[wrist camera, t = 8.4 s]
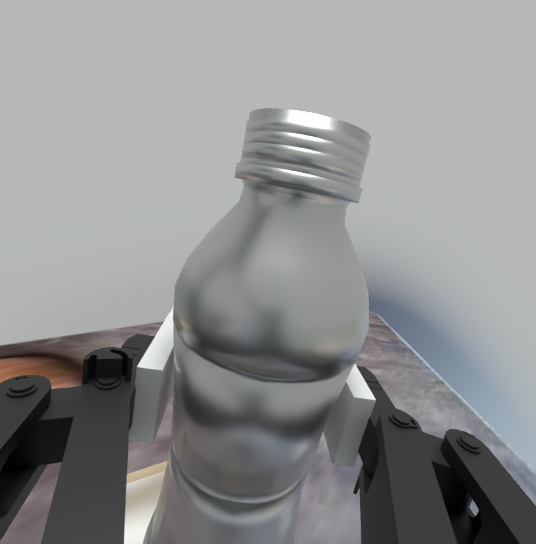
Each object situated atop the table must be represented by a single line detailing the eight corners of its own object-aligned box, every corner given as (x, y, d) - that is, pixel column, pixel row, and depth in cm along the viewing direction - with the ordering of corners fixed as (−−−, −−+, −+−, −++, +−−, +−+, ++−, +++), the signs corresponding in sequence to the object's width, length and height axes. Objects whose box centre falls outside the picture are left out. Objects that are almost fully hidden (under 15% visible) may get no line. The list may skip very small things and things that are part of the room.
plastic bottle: (88, 680, 12) (139, 64, 6) (176, 507, 18) (237, 132, 13) (258, 763, 11) (478, 117, 5) (287, 549, 17) (400, 162, 12)
